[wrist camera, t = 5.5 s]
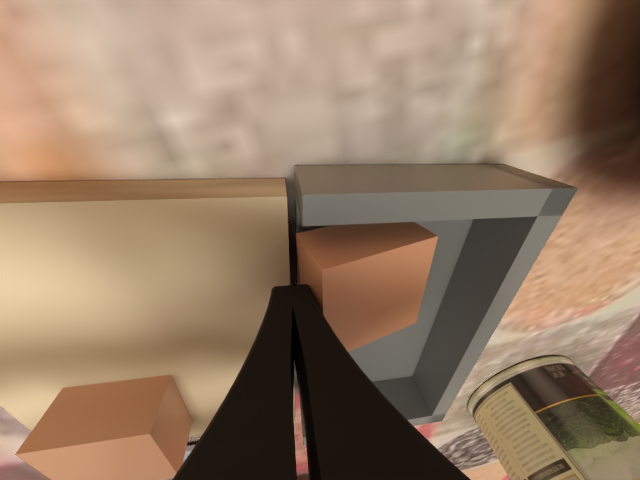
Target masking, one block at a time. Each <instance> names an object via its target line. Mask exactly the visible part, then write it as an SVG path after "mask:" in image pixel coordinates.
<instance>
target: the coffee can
mask: <svg viewBox="0 0 640 480" xmlns="http://www.w3.org/2000/svg"><path fill="white" fill-rule="evenodd" d="M468 411H469V413H470V414H471V415H472V416H473V418H474V419H475V421H476V423H477V424H478V426H479V428H480V429H481V431H482V433H483V434H484V436H485V438H486V439H487V441H488V443H489V444H490V446H491V448H492V449H493V451H494V453H495V454H496V456H497V458H498V459H499V461H500V463H501V464H502V466H503V468H504V469H505V471H506V473H507V474H508V476H509V478H510V479H511V480H640V425H639V424H638V423H637V422H636V421H635V420H634V419H633V418H632V417H630V416H629V415H628V414H627V413H626V412H625V411H624V410H623V409H622V408H621V407H620V406H619V405H618V404H616V403H615V402H614V401H613V400H612V399H611V398H610V397H609V396H608V395H607V394H606V393H605V392H604V391H603V390H602V389H600V388H599V387H598V386H597V385H596V384H595V383H594V382H593V381H592V380H591V379H589V378H588V377H587V376H586V375H585V374H584V373H583V372H582V371H581V370H580V369H579V368H578V367H577V366H576V365H575V364H574V363H573V361H571V360H570V359H568V358H566V357H562V356H546V357H540V358H535V359H531V360H527V361H524V362H521V363H519V364H516V365H514V366H511V367H509V368H507V369H505V370H503V371H501V372H500V373H498V374H496V375H495V376H493V377H492V378H490V379H489V380H487V381H486V382H485V383H483V384H482V385H481V386H480V387H479V388H478V389H477V390H476V391H475V392H474V393H473V395H472V396H471V397H470V399H469V402H468Z"/></svg>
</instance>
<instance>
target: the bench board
mask: <svg viewBox="0 0 640 480" xmlns="http://www.w3.org/2000/svg"><path fill="white" fill-rule="evenodd" d="M287 285H290V264H289V237H288V210H287V192H286V183H285V178H252V179H180V180H107V181H35V182H0V406H1V407H3V408H4V409H5V410H6V411H7V412H9V413H10V414H11V415H12V416H13V417H15V418H16V419H17V420H18V421H20V422H21V423H22V424H23V425H24V426H26V427H27V428H28V429H29V430H30V431H32V430H33V429H34V427H35V426H36V425H37V423H38V422H39V420H40V419H41V418H42V416H43V415H44V413H45V412H46V411H47V409H48V408H49V406H50V405H51V404H52V402H53V401H54V399H55V398H56V396H57V395H58V394H59V392H60V391H61V389H62V388H66V387H74V386H82V385H91V384H99V383H107V382H115V381H123V380H132V379H140V378H148V377H156V376H164V375H172V378H173V380H174V382H175V384H176V386H177V388H178V390H179V392H180V395H181V397H182V399H183V401H184V403H185V405H186V407H187V409H188V412H189V414H190V416H191V418H192V420H193V422H192V426H191V431H190V435H189V437H190V436H196V435H203V433H204V431H205V430H206V428H207V427H208V425H209V424H210V422H211V420H212V419H213V417H214V415H215V414H216V412H217V410H218V409H219V407H220V405H221V404H222V402H223V400H224V399H225V397H226V395H227V393H228V392H229V390H230V388H231V386H232V385H233V383H234V381H235V379H236V377H237V375H238V373H239V372H240V370H241V368H242V366H243V364H244V362H245V360H246V358H247V355H248V353H249V351H250V349H251V347H252V345H253V343H254V341H255V338H256V336H257V334H258V331H259V329H260V326H261V324H262V321H263V318H264V316H265V313H266V310H267V307H268V304H269V300H270V296H271V290H272V288H273V287H275V286H287ZM293 420H295V399H294V400H293Z"/></svg>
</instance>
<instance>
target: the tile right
mask: <svg viewBox="0 0 640 480" xmlns="http://www.w3.org/2000/svg"><path fill="white" fill-rule="evenodd" d="M437 240H438V236H437V235H436V234H434V233H432V232H431V231H429V230H427V229H426V228H424V227H422V226H420V225H419V224H417V223H415V222H395V223H371V224H348V225H331V226H327V227H322V228H318V229H314V230H309V231H305V232H301V233H296V243H297V255H298V266H299V277H300V284H307V285H308V286H309V287H310V290H311V292H312V294H313V296H314V299H315V301H316V303H317V304H318V306H319V308H320V310H321V312H322V313H323V315H324V317H325V319H326V320H327V322H328V323H329V325H330V326H331V328H332V330H333V331H334V333H335V334H336V336H337V337H338V339H339V340H340V342H341V343H342V344H343V346H344V347H345V349H346V350H347V351H348V352H349V351H351V350H354V349H356V348H358V347H361V346H363V345H365V344H368V343H370V342H372V341H375V340H377V339H379V338H382V337H384V336H386V335H389V334H391V333H393V332H396V331H398V330H400V329H403V328H405V327H407V326H410V325H412V324H414V323H416V321H417V317H418V313H419V310H420V306H421V302H422V298H423V294H424V290H425V286H426V282H427V278H428V275H429V271H430V267H431V263H432V259H433V255H434V251H435V247H436V243H437Z"/></svg>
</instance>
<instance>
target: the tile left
mask: <svg viewBox="0 0 640 480" xmlns="http://www.w3.org/2000/svg"><path fill="white" fill-rule="evenodd" d="M192 422H193V420H192V418H191V416H190V414H189V412H188V409H187V407H186V405H185V403H184V401H183V399H182V397H181V395H180V392H179V390H178V388H177V386H176V384H175V382H174V380H173V378H172V375H164V376H156V377H148V378H140V379H132V380H123V381H115V382H107V383H99V384H91V385H82V386H74V387H66V388H62V389H61V391H60V392H59V394H58V395H57V396H56V398H55V399H54V401H53V402H52V404H51V405H50V406H49V408H48V409H47V411H46V412H45V413H44V415H43V416H42V418H41V419H40V420H39V422H38V423H37V425H36V426H35V427H34V429H33V430H32V432H31V433H30V434H29V436H28V437H27V439H26V440H25V441H24V443H23V444H22V446H21V447H20V448H19V450H18V451H17V453H16V454H15V455H16V456H18V457H19V458H21V459H22V460H24V461H25V462H26V463H28V464H29V465H31V466H32V467H34V468H35V469H36V470H38V471H39V472H41V473H42V474H44V475H45V476H46V477H48V478H49V479H51V480H163V479H169V478H174V476H175V475H176V473H177V472H178V470H179V469H180V467H181V466H182V463H183V459H184V455H185V451H186V447H187V443H188V439H189V435H190V431H191V426H192Z"/></svg>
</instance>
